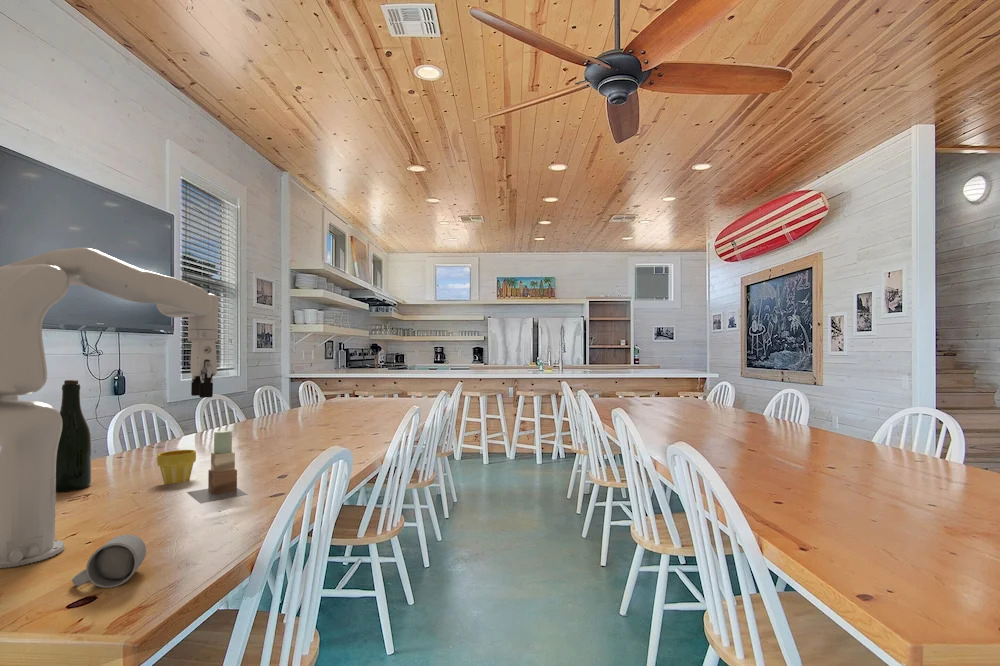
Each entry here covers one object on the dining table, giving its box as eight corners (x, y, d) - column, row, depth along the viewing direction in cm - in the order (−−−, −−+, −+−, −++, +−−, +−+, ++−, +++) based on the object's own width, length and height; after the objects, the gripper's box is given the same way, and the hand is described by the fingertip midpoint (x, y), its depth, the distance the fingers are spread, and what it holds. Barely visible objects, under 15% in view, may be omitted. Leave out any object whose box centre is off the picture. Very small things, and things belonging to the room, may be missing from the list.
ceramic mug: (148, 566, 102) (148, 526, 102) (136, 584, 94) (136, 541, 95) (82, 576, 98) (81, 535, 98) (64, 595, 91) (63, 550, 91)
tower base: (236, 490, 153) (237, 469, 153) (214, 494, 148) (214, 473, 149) (230, 486, 157) (230, 466, 157) (208, 490, 153) (208, 469, 153)
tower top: (234, 469, 153) (234, 452, 153) (215, 472, 149) (215, 455, 149) (229, 467, 156) (229, 450, 157) (210, 469, 153) (211, 452, 153)
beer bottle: (46, 487, 161) (48, 379, 162) (90, 481, 168) (91, 378, 168) (46, 494, 153) (48, 381, 154) (92, 488, 160) (94, 379, 161)
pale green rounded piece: (233, 452, 153) (234, 431, 153) (216, 454, 150) (216, 433, 150) (229, 450, 156) (229, 430, 156) (212, 452, 153) (212, 431, 153)
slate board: (247, 498, 148) (247, 494, 148) (200, 507, 140) (200, 503, 140) (231, 487, 159) (231, 484, 159) (186, 495, 151) (186, 492, 151)
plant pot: (159, 481, 167) (160, 450, 168) (197, 478, 172) (197, 448, 172) (154, 489, 158) (154, 457, 158) (193, 485, 162) (194, 453, 163)
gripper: (225, 336, 147) (224, 397, 146) (209, 337, 160) (208, 394, 159) (195, 335, 142) (193, 399, 141) (181, 337, 155) (180, 395, 154)
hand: (201, 396), depth 150 cm, fingers open, 9 cm apart
